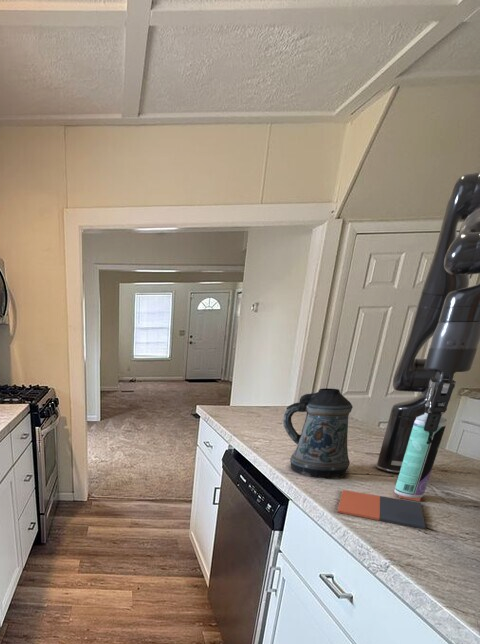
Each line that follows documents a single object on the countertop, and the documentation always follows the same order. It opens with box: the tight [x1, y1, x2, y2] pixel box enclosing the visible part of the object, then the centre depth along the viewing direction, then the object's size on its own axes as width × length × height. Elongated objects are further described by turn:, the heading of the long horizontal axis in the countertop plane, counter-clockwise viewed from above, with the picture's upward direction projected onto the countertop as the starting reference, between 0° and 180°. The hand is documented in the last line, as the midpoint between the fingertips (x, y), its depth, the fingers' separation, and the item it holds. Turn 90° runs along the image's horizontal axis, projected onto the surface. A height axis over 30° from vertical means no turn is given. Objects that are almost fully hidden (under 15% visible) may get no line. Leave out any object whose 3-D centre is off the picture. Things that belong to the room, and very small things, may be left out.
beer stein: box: [282, 387, 354, 479], centre depth 122 cm, size 16×19×25 cm
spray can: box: [394, 411, 448, 499], centre depth 90 cm, size 6×6×20 cm
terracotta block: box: [398, 494, 422, 502], centre depth 105 cm, size 4×4×4 cm
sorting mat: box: [337, 489, 426, 530], centre depth 99 cm, size 16×17×1 cm
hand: (428, 428), depth 88 cm, fingers closed on spray can, 5 cm apart
